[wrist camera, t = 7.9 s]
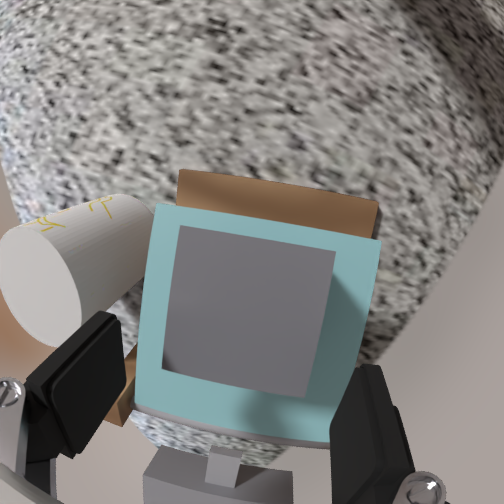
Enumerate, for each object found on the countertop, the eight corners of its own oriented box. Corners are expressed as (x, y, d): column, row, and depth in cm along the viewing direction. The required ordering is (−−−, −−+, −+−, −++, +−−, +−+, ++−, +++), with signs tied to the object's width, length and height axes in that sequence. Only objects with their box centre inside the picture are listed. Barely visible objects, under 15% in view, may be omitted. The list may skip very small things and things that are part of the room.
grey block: (216, 233, 16) (179, 225, 10) (314, 250, 15) (336, 251, 9) (201, 328, 16) (161, 369, 10) (295, 345, 16) (304, 397, 10)
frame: (180, 168, 24) (74, 190, 11) (378, 201, 23) (460, 256, 10) (170, 336, 29) (107, 435, 17) (331, 366, 28) (343, 484, 15)
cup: (137, 178, 25) (39, 202, 14) (176, 262, 27) (104, 334, 16) (75, 216, 27) (-16, 254, 16) (111, 289, 29) (36, 354, 17)
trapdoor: (169, 208, 19) (144, 199, 15) (370, 242, 18) (393, 241, 14) (145, 472, 20) (127, 501, 16) (296, 504, 19) (297, 537, 15)
